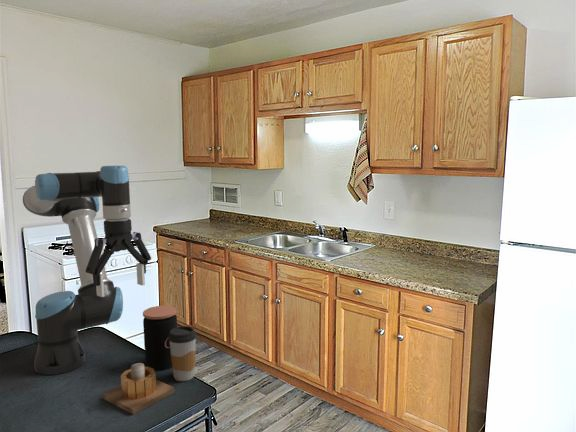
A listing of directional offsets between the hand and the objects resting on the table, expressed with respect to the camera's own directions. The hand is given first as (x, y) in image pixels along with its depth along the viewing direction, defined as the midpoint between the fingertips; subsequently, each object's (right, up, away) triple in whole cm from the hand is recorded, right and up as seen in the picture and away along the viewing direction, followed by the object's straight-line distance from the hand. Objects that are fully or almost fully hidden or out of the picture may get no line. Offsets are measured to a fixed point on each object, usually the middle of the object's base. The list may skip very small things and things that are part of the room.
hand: (121, 290), depth 136 cm
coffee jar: (+8, -27, +16) cm, 32 cm away
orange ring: (+7, -28, -4) cm, 29 cm away
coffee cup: (+17, -28, +7) cm, 34 cm away
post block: (+7, -30, -4) cm, 31 cm away
